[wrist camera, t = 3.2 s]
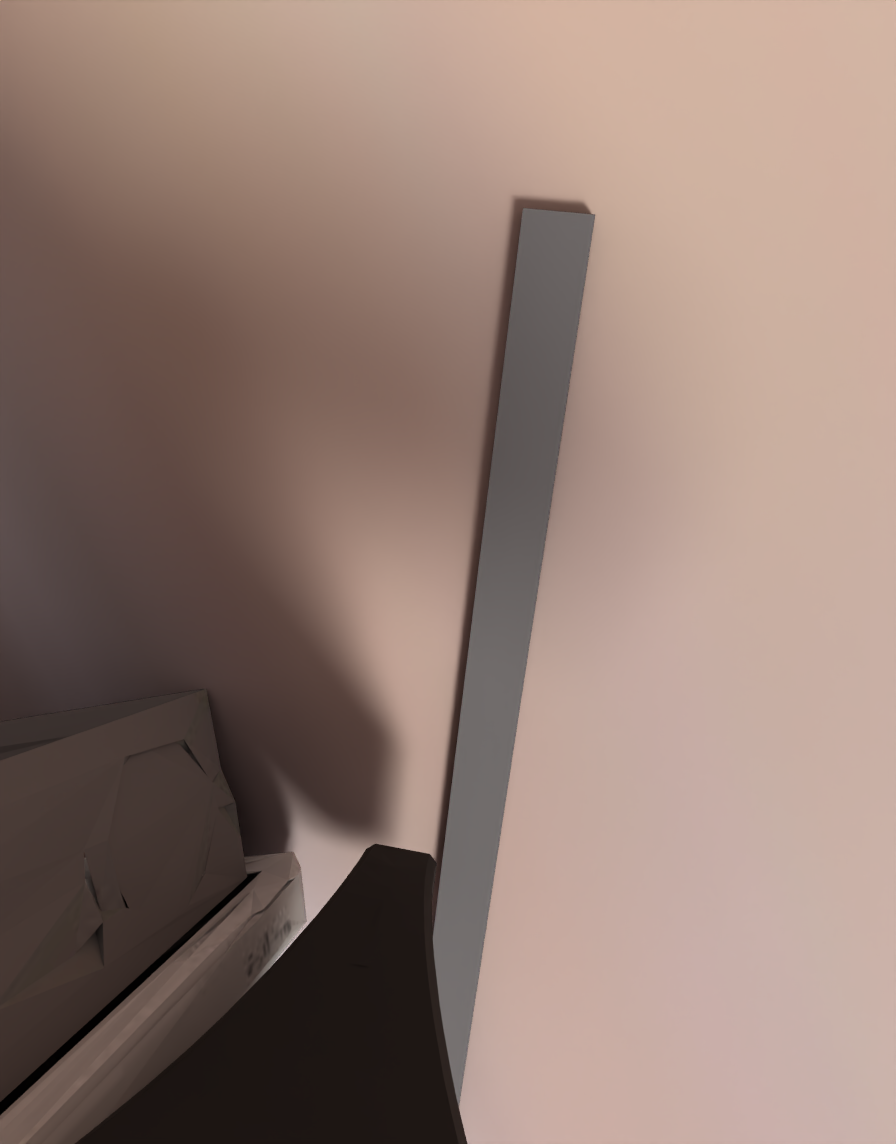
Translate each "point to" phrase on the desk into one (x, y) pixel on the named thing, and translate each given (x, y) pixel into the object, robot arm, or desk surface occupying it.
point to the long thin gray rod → (506, 595)
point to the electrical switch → (121, 907)
